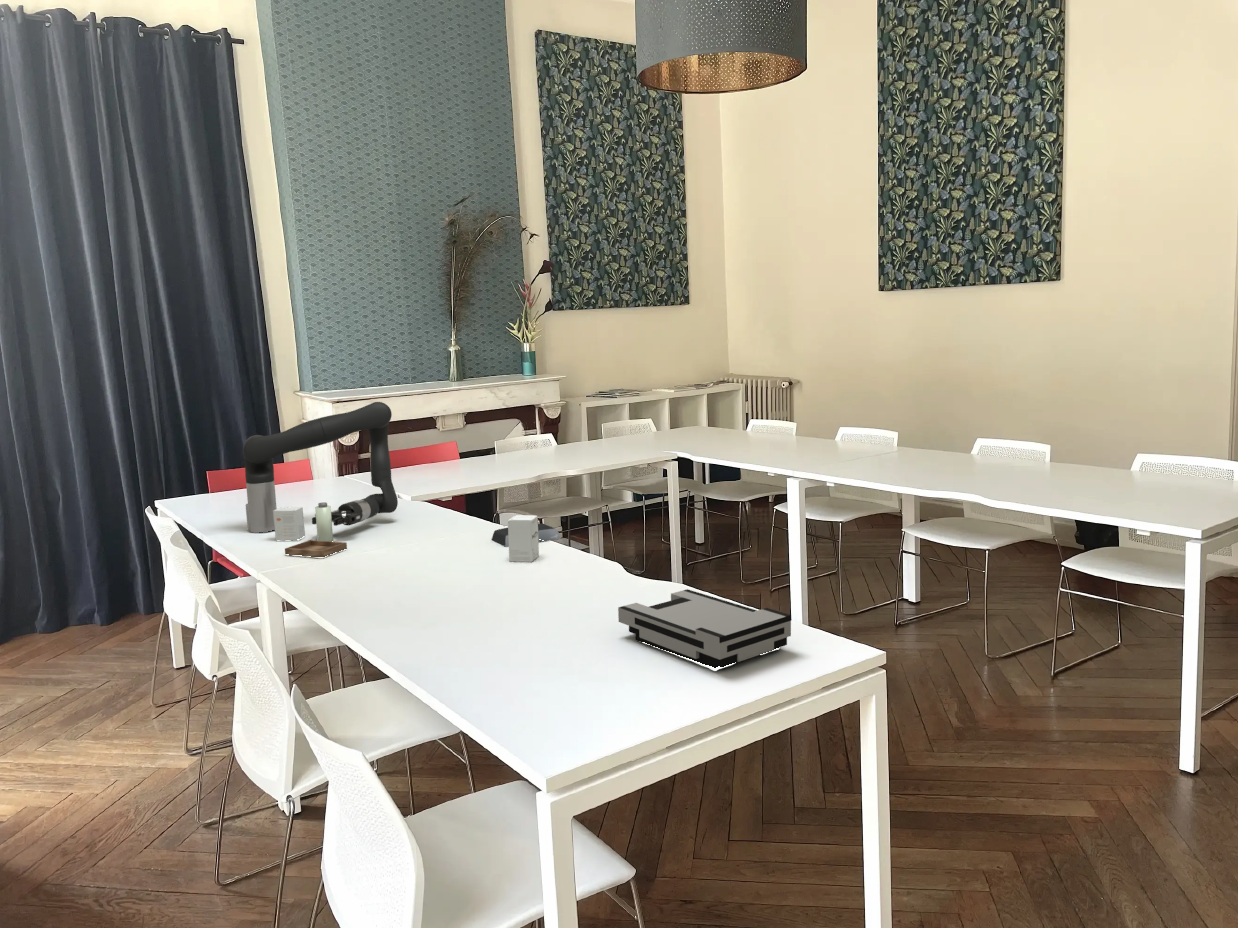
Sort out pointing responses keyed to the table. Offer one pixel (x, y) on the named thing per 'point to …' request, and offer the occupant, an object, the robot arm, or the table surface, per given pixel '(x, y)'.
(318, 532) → the bottle
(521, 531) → the supplement box
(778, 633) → the game console
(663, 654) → the table surface
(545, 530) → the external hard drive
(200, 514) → the table surface
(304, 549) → the tray
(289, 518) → the small box
